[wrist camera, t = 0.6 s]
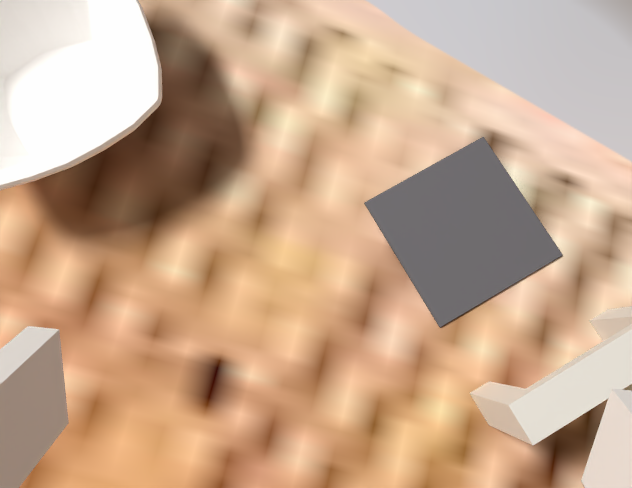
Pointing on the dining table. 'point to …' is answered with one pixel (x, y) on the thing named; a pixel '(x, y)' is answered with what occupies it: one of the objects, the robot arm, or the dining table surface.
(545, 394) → the bridge
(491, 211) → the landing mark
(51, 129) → the bowl
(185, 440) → the dining table surface
